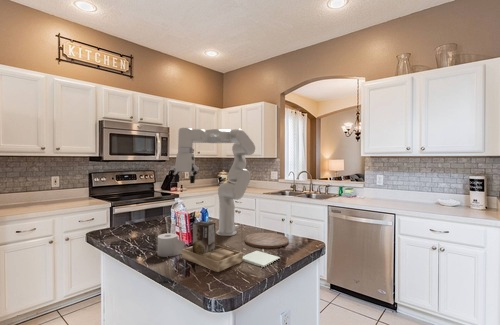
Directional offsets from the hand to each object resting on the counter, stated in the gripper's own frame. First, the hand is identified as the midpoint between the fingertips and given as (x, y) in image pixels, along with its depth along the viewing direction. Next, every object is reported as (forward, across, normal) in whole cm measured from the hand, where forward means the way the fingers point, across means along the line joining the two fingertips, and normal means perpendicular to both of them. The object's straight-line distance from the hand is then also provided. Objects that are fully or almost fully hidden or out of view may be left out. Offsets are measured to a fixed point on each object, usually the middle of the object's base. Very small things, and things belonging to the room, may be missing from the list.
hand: (184, 182), depth 146 cm
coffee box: (+34, -19, +11) cm, 40 cm away
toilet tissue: (+34, -2, +14) cm, 36 cm away
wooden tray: (+34, -25, +13) cm, 44 cm away
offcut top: (+32, -31, +15) cm, 46 cm away
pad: (+33, -45, +4) cm, 56 cm away
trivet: (+34, -40, -24) cm, 57 cm away
